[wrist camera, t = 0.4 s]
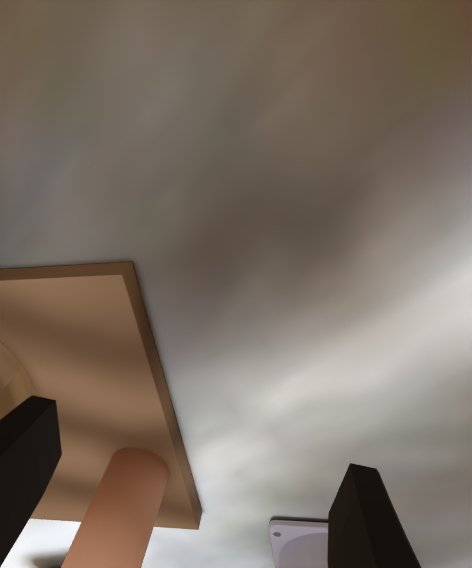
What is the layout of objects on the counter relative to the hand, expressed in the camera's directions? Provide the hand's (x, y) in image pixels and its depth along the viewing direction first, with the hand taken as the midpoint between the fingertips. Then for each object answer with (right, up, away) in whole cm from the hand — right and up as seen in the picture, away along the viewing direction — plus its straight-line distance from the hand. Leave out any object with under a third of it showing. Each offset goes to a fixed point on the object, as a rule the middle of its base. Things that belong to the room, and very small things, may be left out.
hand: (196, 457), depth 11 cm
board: (-11, -3, +16) cm, 19 cm away
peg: (-5, -7, +15) cm, 17 cm away
